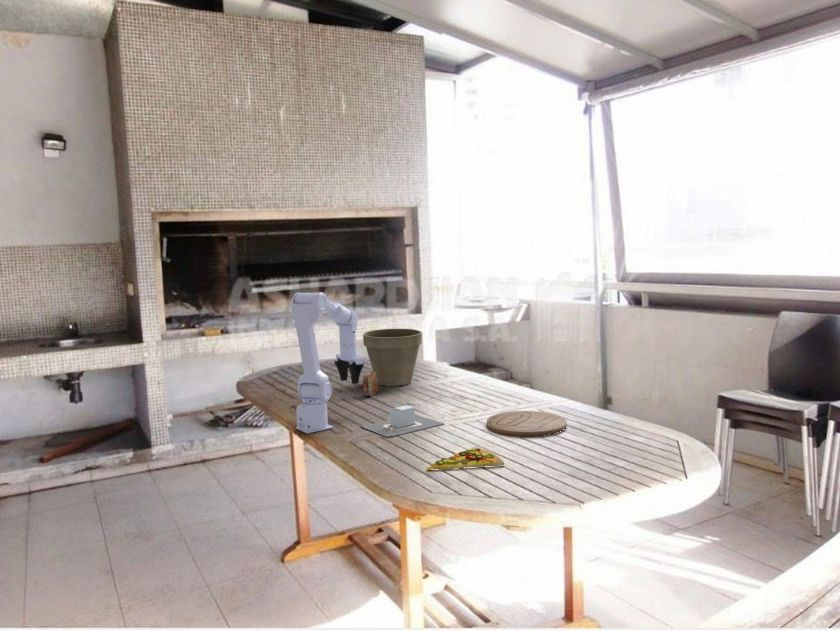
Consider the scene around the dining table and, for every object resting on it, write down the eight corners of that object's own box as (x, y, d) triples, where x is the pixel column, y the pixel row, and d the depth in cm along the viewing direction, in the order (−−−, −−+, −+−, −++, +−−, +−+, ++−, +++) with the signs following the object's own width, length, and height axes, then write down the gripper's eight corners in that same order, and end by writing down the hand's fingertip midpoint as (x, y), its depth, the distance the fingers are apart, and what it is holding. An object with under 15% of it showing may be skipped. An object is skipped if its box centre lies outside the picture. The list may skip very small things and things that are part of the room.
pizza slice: (510, 468, 176) (509, 456, 175) (440, 482, 166) (440, 471, 166) (479, 452, 189) (478, 441, 189) (413, 465, 180) (412, 454, 180)
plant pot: (421, 388, 270) (419, 335, 268) (360, 390, 272) (358, 337, 269) (425, 376, 295) (423, 327, 293) (369, 377, 297) (367, 329, 294)
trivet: (577, 421, 217) (576, 415, 216) (550, 442, 195) (550, 435, 195) (505, 413, 229) (505, 408, 229) (473, 432, 208) (473, 426, 208)
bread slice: (369, 398, 257) (368, 376, 256) (361, 398, 258) (360, 376, 257) (379, 389, 272) (379, 369, 271) (372, 389, 272) (371, 369, 271)
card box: (414, 424, 217) (414, 406, 216) (397, 428, 213) (396, 410, 212) (407, 421, 220) (406, 404, 220) (390, 425, 216) (389, 408, 215)
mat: (388, 437, 204) (388, 436, 204) (360, 427, 216) (360, 426, 216) (444, 424, 217) (444, 423, 217) (415, 415, 229) (415, 414, 229)
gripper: (368, 344, 233) (370, 383, 234) (347, 340, 244) (348, 377, 246) (351, 347, 228) (352, 386, 230) (330, 342, 240) (331, 380, 241)
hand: (349, 382), depth 237 cm, fingers open, 7 cm apart
